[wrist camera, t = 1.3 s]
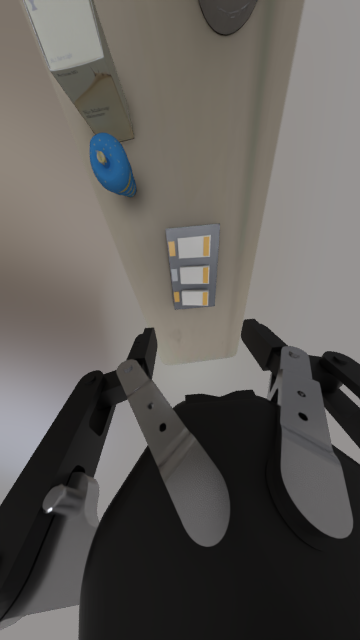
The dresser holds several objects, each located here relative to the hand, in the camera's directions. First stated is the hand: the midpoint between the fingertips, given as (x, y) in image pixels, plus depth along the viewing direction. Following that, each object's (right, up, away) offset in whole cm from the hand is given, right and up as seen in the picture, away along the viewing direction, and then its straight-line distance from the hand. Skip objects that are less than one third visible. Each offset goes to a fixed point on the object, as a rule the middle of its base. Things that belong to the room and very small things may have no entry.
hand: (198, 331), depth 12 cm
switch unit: (+2, +15, +24) cm, 29 cm away
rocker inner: (+1, +17, +17) cm, 24 cm away
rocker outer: (+2, +7, +23) cm, 25 cm away
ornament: (-12, +28, +16) cm, 34 cm away
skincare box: (-13, +36, +11) cm, 40 cm away
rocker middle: (+2, +12, +20) cm, 24 cm away
